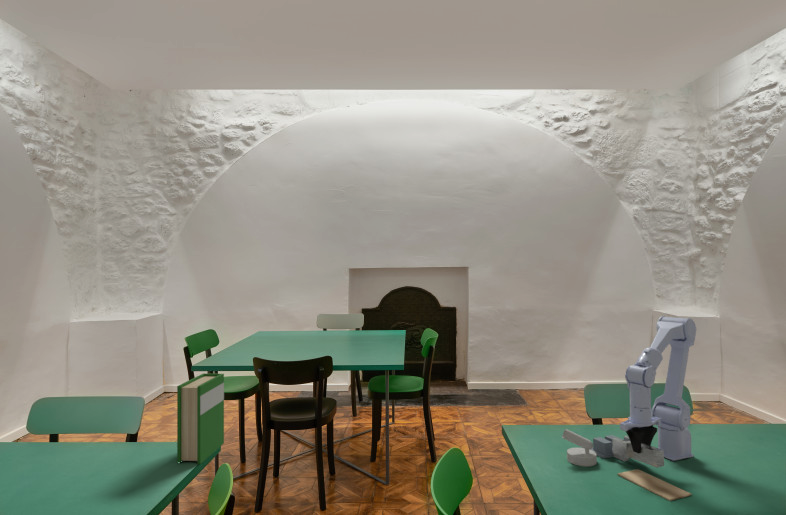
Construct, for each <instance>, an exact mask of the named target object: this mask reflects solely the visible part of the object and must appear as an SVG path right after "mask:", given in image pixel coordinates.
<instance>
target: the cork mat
mask: <svg viewBox="0 0 786 515" xmlns="http://www.w3.org/2000/svg"><path fill="white" fill-rule="evenodd" d="M617 476H619V477H621V478H622V479H625V480H627V481H629V482H631V483H633V484H635V485H637V486H639V487H641V488H643V489H645V490H647V491H649V492H651V493H653V494H655V495H657V496H659V497H661V498H664V499H665V500H667V501H669V502H670V501H674V500H678V499H682V498H686V497H690V496H692V493H691V492H688V491H687V490H684V489H682V488H679V487H677V486H675V485H673V484H671V483H668V482H667V481H665V480H663V479H660V478H658V477H656V476H654V475H652V474H650V473H647V472H645V471H643V470H642V469H641V470H640V469H639V468H636V469H632V470H627V471H623V472H618V473H617Z"/></svg>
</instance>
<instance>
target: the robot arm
mask: <svg viewBox="0 0 786 515" xmlns="http://www.w3.org/2000/svg"><path fill="white" fill-rule="evenodd" d="M696 334H697V326H696V323H695V321H694V319H692V318H691V317H687V318H684V317H673V316H672V317H671V316H665V315H662V316H660V317H659V318H658V320H657V322H656V334H655V336H654V339H653V340H652V342H651V345H650V346H649V347H646V348H644V349H643V350H642V352H641V354H640V355H639V356H638V357H637V360H636V361H635V363H634V364H632V365H631V364H630V365H629V366H628V367H627V368H626V370H625V374H624V378H625V382H626V383H627V388H628V390H629V416H628V417H627V419H625V421H623V422H619V430H621V431H624V432H625V433H626V434H627V435H626V436H628V437H629V439H630V442H631V445H632V449H633V451H634V452H636V453H640V452H641V443H644V444H647V445H650V446H652V441H653V440H654V438H655V435H656V434H657V440H658V443H657V448H659V449H662V450H663V452H664V459H665V458H666V459H667V460H670V461H674V462H675V461H679V460H683V459H688V458H693V457H695V454H693V453H692V434H691V431H690V429H689V426H690V425H691V424H690V423H691V406H690V405H689V404H688V403H687V402H686V401H685V400H684V399H683V391H684V386H685V378H686V373H687V365H688V358H689V351H690V348H691V347H692V346H694V344H695V340H696ZM669 345H670V348H671V349H670V352H669V353H670V354H669V361H668V365H667V366H668V367H667V372H666V377H665V378H666V379H665V386H664V390H663V393H662V394H661V395H659V396H657V397H656V398H655V400H654V403H653V405H652V393H651V392H652V388H651V387H652V386H653V385H654V383H655V381H656V375H657V370H658V368H659V367H660V365H661V363H662V361H663V358H664V357H663V355H662V354H663V352H665V350H666V348H668V346H669ZM655 426H657V427H655Z"/></svg>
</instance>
